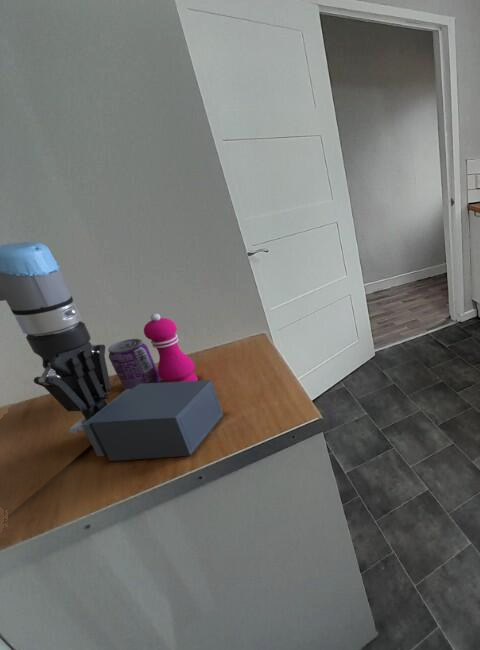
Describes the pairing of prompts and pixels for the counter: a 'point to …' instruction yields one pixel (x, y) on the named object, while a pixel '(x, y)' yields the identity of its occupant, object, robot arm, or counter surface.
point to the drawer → (89, 429)
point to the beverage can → (133, 363)
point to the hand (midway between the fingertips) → (105, 429)
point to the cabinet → (159, 420)
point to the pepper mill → (169, 351)
